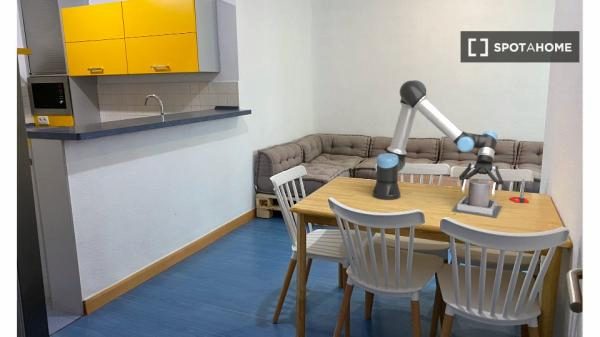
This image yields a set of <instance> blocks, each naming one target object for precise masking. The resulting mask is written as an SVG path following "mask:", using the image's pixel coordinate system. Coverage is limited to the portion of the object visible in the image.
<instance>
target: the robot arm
mask: <svg viewBox="0 0 600 337" xmlns="http://www.w3.org/2000/svg"><path fill="white" fill-rule="evenodd" d="M399 96H400V100H399V101H400V102H399V103H400V105H401V107H400V112H399V114H398V118H397V122H396V124H395V129H394V132H393V136H392V140H391V143H390V146H387V148H386V150H385V153H380V154H379V155H378V156H377V157H376V163H375V164H376V180H375V185H374V188H373V191H372V196H373V198H376V199H380V200H389V201H390V200H397V199H400V197H401V190H400V187H399V184H398V183H399V182H398V179H399V175H398V174H399V173H400V171H402V170H403V168H405V166H406V162H407V161H406V158H407V155H408V154H407V153H408V152H407V150H406V149H407V145H408V141H409V138H410V134H411V131H412V128H413V125H414V122H415V118H416V115H417V114H416V113H417V111H418V112H419V113H420V114H421V115H423V116H424V117H425V118H426V119H427V120H428V121H429V122H431V123H432V124H433V126H434V127H436V128H437V129H438V130H439V131H440V132H441V133H442V134H443V135H445V136H446V138H448V139H449V140H450V141H451V142H452V143H453V144H455V146H457V149H458V150H459V151H460V152H462V153H468V152H470V151H472V150H473V149H476V150H477V149H478V152H477V158H476V162H475V164H472V163H471V162H470V163H468V166H467V167H466V168H465V169H464V170H463V171H462V172H461V173H460V175H459V176H458V178H459V180H460V181H461V187H462V188H461V191H462V193H463V194H465V191H466V186H467V183H468V181H467V180H469V179H470V178H472V177H474V176H476V175H478V174H479V175H488V177H490V179H491V180H492V182H493V184H492V185H493V187H492V190H491V191H492V192H491V197H493V198H494V197H495V193H496V191H498V189H499V187H500V185H503V184H504V180H503V177H502V175H501V173H500V170H499V166H498V165H495V166H493V163H494V157H495V153H496V148H497V143H498V134H497V132H495V131H491V130H488V131H487V130H486V131H484V132H483V133H481V134H477V133H471V132H466V131H464V129H462V128H461V127H460V126H459V125H458V124H456V122H454V121H453V120H452V118H450V117H449V116H448V115H446V113H444V112H443V111H442V110H441V109H440V108H439V107H438V106H436V105H435V104H434V103H433V102H432V101H431V100H430V99H428V94H427V86H426V85H425V83H423V82H422V81H420V80H418V79H417V80H416V79H414V80H413V79H412V80H408V81H406V82H403V83H402V85H401V86H400V88H399ZM471 170H472V171H471ZM492 171H493V172H495V174H496V176H495V175H494V174H493V173H492Z"/></svg>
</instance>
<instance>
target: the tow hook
mask: <svg viewBox="0 0 600 337" xmlns="http://www.w3.org/2000/svg"><path fill="white" fill-rule="evenodd" d="M520 188H521V189H520V191H521V192H520V196H511V197H509V200H510V201H512V202H514V203H519V204H528V203H529V202H530V200H529V199H528V198H525V178H522V182H521V187H520Z"/></svg>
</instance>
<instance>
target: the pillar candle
mask: <svg viewBox="0 0 600 337" xmlns="http://www.w3.org/2000/svg"><path fill="white" fill-rule="evenodd" d="M491 183H492V181H489V180H488V179H487V180H486V179H482V178H479V179H478V178H476V179H475V178H474V179H470V180H469V183H468V195H467V197H468V204H467V205H472V206H479V207H487V208H488V206H489V199H490V192H491V191H490V190H491Z"/></svg>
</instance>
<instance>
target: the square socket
mask: <svg viewBox="0 0 600 337" xmlns="http://www.w3.org/2000/svg"><path fill="white" fill-rule="evenodd" d="M498 202H499V201H498V199H497V200H495V199H490V198H489V206H488V208H487V207H479V206H472V205H467V204H468V195H467V196H465V195H464V196H463V197H462V199H460V200H459V201H458V202H457V204H455V206H454V207H453V208H452V210H451V211H452V212H453V213H459V214H461V213H462V214H468V215H472V216H473V215H474V216H480V217H486V218H492V219H497V218H498V216H499V214H500V212H501V211H502V208H503V206H502V205H498Z"/></svg>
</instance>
